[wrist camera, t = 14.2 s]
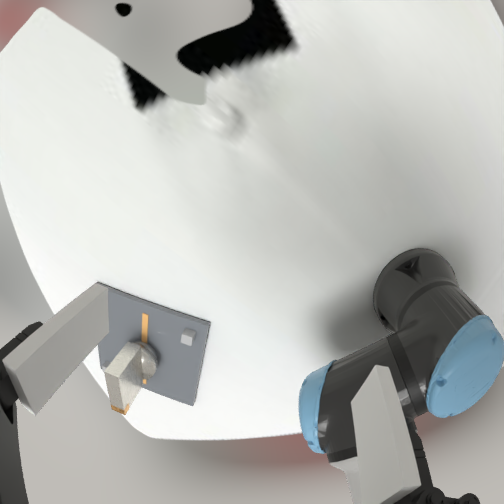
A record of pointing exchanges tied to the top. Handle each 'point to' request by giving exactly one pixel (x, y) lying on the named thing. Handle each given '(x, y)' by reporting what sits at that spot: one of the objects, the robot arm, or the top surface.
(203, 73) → the top surface
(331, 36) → the top surface
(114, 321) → the post plate
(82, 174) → the top surface
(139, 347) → the grey block knob
